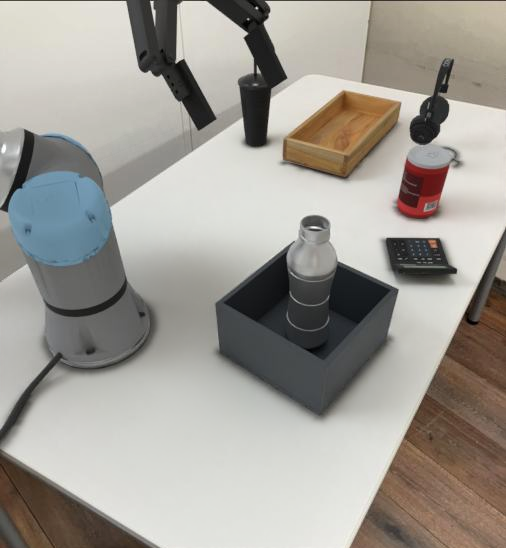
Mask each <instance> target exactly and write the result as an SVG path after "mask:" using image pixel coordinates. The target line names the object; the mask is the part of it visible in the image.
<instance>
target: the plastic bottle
mask: <svg viewBox="0 0 506 548" xmlns="http://www.w3.org/2000/svg"><path fill="white" fill-rule="evenodd" d="M331 226H332V225H331V221H330V220H329V219H328V218H327V217H326V216H323V215H320V214H308V215H305V216H303V217H302V218H301V219H300V222H299V229H298V233H297V236H298V238H296V240H294V241H295V242H294V243H293V244H292V245H291V247H290V248H289V251H288V253H287V268H288V275H289V283H290V298H289V305H288V311H287V314H286V317H285V322H284V328H285V333H286V336H287V338H288V339H289V340H290V341H291V342H292V343H294V344H296V345H297V346H299V347H301V348H303V349H313V348H317V347H319V346H320V345H322V344H323V343H324V342H325V341H326V339H327V337H328V334H329V332H330V320H329V294H330V289H331V284H332V281H333V278H334V274H335V271H336V267H337V262H338V261H339V260H338V255H337V250H336V249H335V247H334V246H333V243H332V242H330V240H331Z"/></svg>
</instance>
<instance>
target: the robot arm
mask: <svg viewBox="0 0 506 548" xmlns="http://www.w3.org/2000/svg"><path fill="white" fill-rule="evenodd" d="M152 1H153V3H152V4H153V5H152V4H151V0H125V2H126V3H125V4H126V8H127V14H128V19H129V24H130V29H131V30H130V31H131V34H132V35H131V36H132V40H133V45H134V50H135V56H136V62H137V66H138V69H139V70H140V72H142V73H143V74H147V73H149V72H150V73H151V75H153V76H154V77H155V78H159V77H161V76H162V78H163V79H164V81H165V83H166V85H167V87H168V89H170V92H171V93H172V96H173V97H174V100H176V101H177V102H178V103H180V102H181V103H182V105H183V107H184V108H185V110H186V112H187V114H188V116H189V118H190V119H191V121H192V122H193V124H194V126H195V128H196V130H197V131H198V132H200V131H202V130H203V129H205V128H206V127H208V126H209V125H210V124H212V123H213V122H215V121H217V120H218V118H217V116H216V114H215V113H214V110H213V109H212V107H211V105H210V103H209V101H208V100H207V98H206V96H205V94H204V93H203V91H202V89H201V86H200V85H199V82H198V81H197V80H196V78H195V76H194V74H193V72H192V70H191V69H190V67H189V65H188V63H187V61H186V59H185V58H182V59H181V60H178V61H177V47H178V46H177V45H178V44H177V43H178V42H177V41H178V40H177V39H178V6H179V5H181V4H182V3H183V2H184V1H185V0H152ZM199 1H200V2H207V3H208V4H209V5H211V6H212V7H213V8H215V9H216V10H217V11H218V12H220V13H221V14H222V15H224V16H225V17H226V18H228V19H229V21H231V22H233V23H234V24H235V25H236V26H237V27H239V28H240V29H242V30H243V31H244V32H246V33H247V34H246V35H245V36H243V40H244V42H245V44H246V46H247V48H248V50H249V52H250V54H251V56H252V58H253V61H254V60H255V62H256V64H257V69H258V70H259V73H261V74H262V76H263V78H264V80H265V82H266V84H267V86H268V88H269V90H270V89H271V90H272V89H274V88H276V87H277V86H278V85H280V84H282V83H283V82H284V81H286V80H287V79H288V75H287V74H286V72H285V69H284V68H283V65H282V63H281V61H280V59H279V57H278V55H277V53H276V48H275V45H274V43H273V40H272V39H271V37H270V35H269V32H268V30H267V29H266V26H265V22H267V20H269V18H270V14H271V7H270V5H269V4H268V3H267V2H266V0H199ZM152 9H153V10H154V11H155V12H154V13H155V14H153V10H152ZM154 15H155V16H154ZM176 61H177V62H176ZM0 211H2V212H4V213H7V215H8V220H9V224H10V229H11V230H10V231H11V234H12V236H13V238H14V239H15V241H16V243H17V245H18V247H19V248H20V250H21V252H22V255H23V257H24V259H25V262H26V264H27V266H28V269H29V271H30V273H31V275H32V278H33V280H34V282H35V285H36V287H37V289H38V291H39V295H40V296H41V298H42V300H43V303H44V335H45V341H46V343H47V346H48V348H49V350H50V352H51V353H52V355H53V357H52V359H51V360H49V362H48V363H47V365H46V366H44V368H43V369H42V370H41V371H40V372H39V373H38V375H36V377H34V379H33V380H32V381H31V382H30V383H29V385H28V386H27V387H26V388H25V390H24V391H23V392H22V394H21V396H20V397H19V398H18V400H17V402H16V403H15V405H14V407H13V408H12V410H11V411H10V414H9V416H8V417H7V418H6V420H5V422H4V424H3V425H2V427H1V428H0V442H1V441H2V440H3V438H4V437H5V436H6V435H7V433H8V432H9V430H10V429H11V427H12V426H13V425H14V423H15V421H16V419H17V417H18V416H19V413H20V411H21V410H22V408H23V407H24V405H25V403H26V401H27V400H28V399H29V397H30V395H31V394H32V393H33V392H34V390H35V389H36V388H37V387H38V386H39V385H40V384H41V382H42V381H43V380H44V379H45V378H46V377H47V375H49V373H50V372H51V371H52V370H53V368H54V367H55V366H56V365H57V364H58V363H59V361H60V362H61V363H62V364H65V365H68V366H70V367H73V368H74V367H75V368H79V369H96V368H97V369H98V368H103V367H108V366H111V365H113V364H116V363H119V362H121V361H123V360H125V359H127V358H128V357H131V355H133V354H134V353H135V352H137V351H138V350H139V349H140V348H141V347H142V345H144V343H145V341H146V339H147V338H148V336H149V333H150V329H151V320H150V314H149V311H148V309H147V308H148V307H147V306H146V305H145V304H146V303H145V301H144V299H143V298H142V297H141V296H140V294H139V293H138V292H137V291H136V290H135V289H134V288H133V286H132V285H131V283H130V282H129V281H128V278H127V275H126V270H125V266H124V262H123V258H122V255H121V251H120V248H119V243H118V239H117V235H116V231H115V227H114V224H113V214H112V209H111V206H110V203H109V201H108V199H107V196H106V193H105V188H104V180H103V176H102V172H101V171H100V167H99V166H98V164H97V162H96V160H95V159H94V157H93V155H92V154H91V153H90V151H89V150H88V148H86V147H85V146H84V145H83V144H82V143H80V142H79V141H77V140H76V139H74V138H72V137H70V136H68V135H65V134H61V133H55V132H46V133H45V134H37V133H35V132H32V131H30V130H28V129H26V128H23V127H20V126H18V127H15V128H12V129H10V130H7V131H2V130H0Z"/></svg>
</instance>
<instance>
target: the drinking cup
mask: <svg viewBox="0 0 506 548" xmlns="http://www.w3.org/2000/svg"><path fill="white" fill-rule="evenodd" d="M237 85H238V88H239V96H240V97H239V98H240V104H241V112H242V113H241V114H242V121H243V131H244V139H245V144H246V145H247V146H249V147H253V148H259V147H262V146H265V145H266V144H267V139H268V138H267V137H268V129H269V118H270V110H271V109H270V108H271V99H272V89H270V90H269V88H268V86H267V84H266V82H265V80H264V78H263V76H262V74H261V72H258V66H257V64H256V62H255V60H254V59H253V72H251V73H247V74H245V75H243V76H241V77H239V78H238V79H237Z"/></svg>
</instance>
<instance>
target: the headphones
mask: <svg viewBox="0 0 506 548" xmlns="http://www.w3.org/2000/svg"><path fill="white" fill-rule="evenodd" d="M454 63H455V59H454V58H449V57H445V58H444V59H443V60H442V62H441V65H440V66H439V69H438V73H437V77H436V81H435V85H434V89H433V90H434V91H433V93H432V95H431V96H428V97H426V98H425V99H424V100H423V101H422V103H421V105H420V107H419V112H418V113H419V114H418V115H416V116H415V117H413V118H412V119H411V121H410V124H409V129H408V130H409V138H410V139H411V141H412V142H413V143H414V144H417V145H430V143H432V141H434V140H435V139H436V138H438V136H439V134H440V132H441V125H442V124H443V123H445V122H446V120H447V119H448V117H449V114H450V103H449V101H448V99H446V98H445V97H443V96H442V95H441V94H448V90H449V86H450V84H449V81H450V78H451V74H452V70H453V66H454ZM447 150H450V151H453V153H455V154H457V152H456V151H455V150H454V149H451V148H450V147H447ZM456 157H457V155H455V156H454V157H453V158H452V159H451V162H452V161H454V162H457V164H456V165H455V167H457V166H458V165H459V163H460V161H459V160H456Z"/></svg>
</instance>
